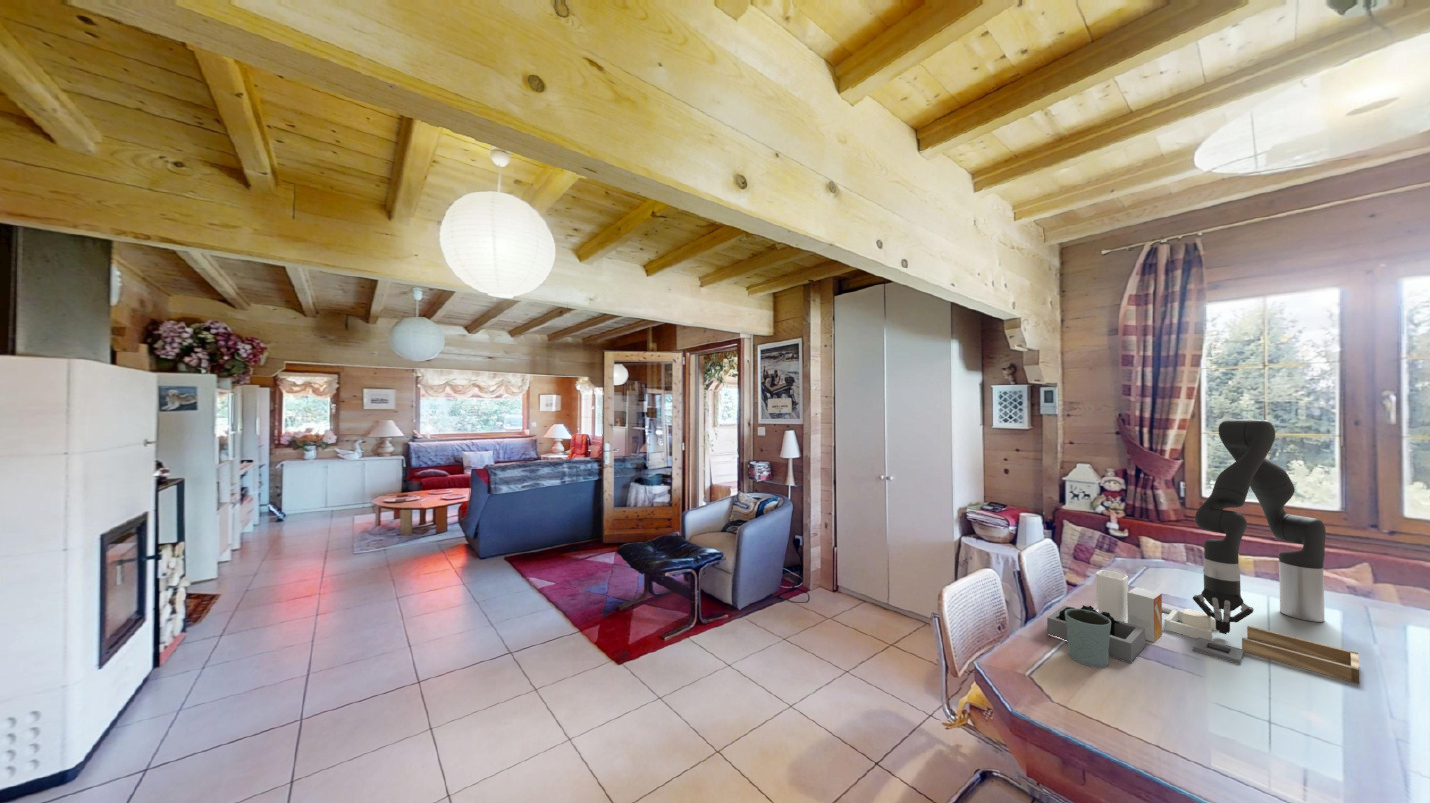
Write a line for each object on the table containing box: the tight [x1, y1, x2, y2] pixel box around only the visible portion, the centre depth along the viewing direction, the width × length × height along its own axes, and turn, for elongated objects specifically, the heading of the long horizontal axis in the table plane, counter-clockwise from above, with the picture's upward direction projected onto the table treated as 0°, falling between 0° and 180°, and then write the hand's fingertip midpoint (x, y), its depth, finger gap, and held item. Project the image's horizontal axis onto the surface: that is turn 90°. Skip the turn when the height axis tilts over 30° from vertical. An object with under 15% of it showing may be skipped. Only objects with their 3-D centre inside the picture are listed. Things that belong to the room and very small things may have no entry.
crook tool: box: [1162, 606, 1174, 614], centre depth 154 cm, size 4×13×1 cm, turn 44°
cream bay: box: [1163, 608, 1217, 641], centre depth 145 cm, size 13×10×3 cm
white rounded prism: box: [1095, 569, 1129, 622], centre depth 153 cm, size 7×7×15 cm
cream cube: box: [1182, 608, 1212, 631], centre depth 144 cm, size 6×6×6 cm
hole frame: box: [1192, 637, 1245, 665], centre depth 132 cm, size 9×9×1 cm
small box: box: [1127, 586, 1163, 643], centre depth 142 cm, size 8×6×13 cm
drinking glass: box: [1065, 608, 1111, 668], centre depth 129 cm, size 10×10×12 cm
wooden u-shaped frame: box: [1241, 625, 1361, 685], centre depth 129 cm, size 13×20×4 cm
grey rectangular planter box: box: [1046, 605, 1146, 664], centre depth 139 cm, size 15×20×6 cm
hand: (1222, 632), depth 140 cm, fingers closed
